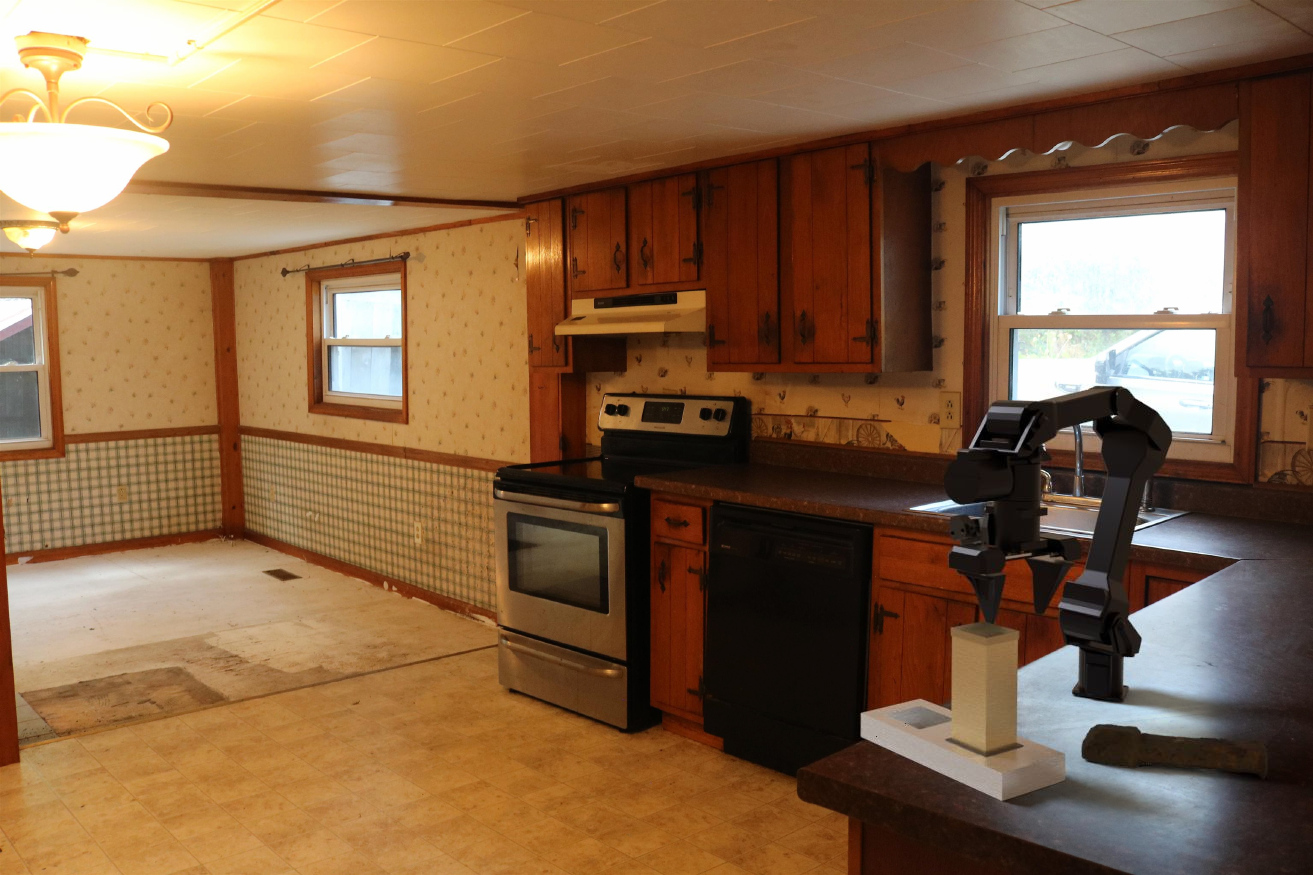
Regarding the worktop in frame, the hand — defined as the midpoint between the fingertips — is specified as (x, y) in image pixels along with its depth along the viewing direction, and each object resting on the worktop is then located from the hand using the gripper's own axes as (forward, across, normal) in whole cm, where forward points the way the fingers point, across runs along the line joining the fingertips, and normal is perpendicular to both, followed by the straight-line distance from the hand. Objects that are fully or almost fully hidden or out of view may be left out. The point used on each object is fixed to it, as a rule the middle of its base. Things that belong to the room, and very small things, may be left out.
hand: (1015, 619), depth 132 cm
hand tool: (+13, -2, +21) cm, 25 cm away
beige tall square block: (+10, +16, +10) cm, 21 cm away
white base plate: (+13, +16, +6) cm, 21 cm away
